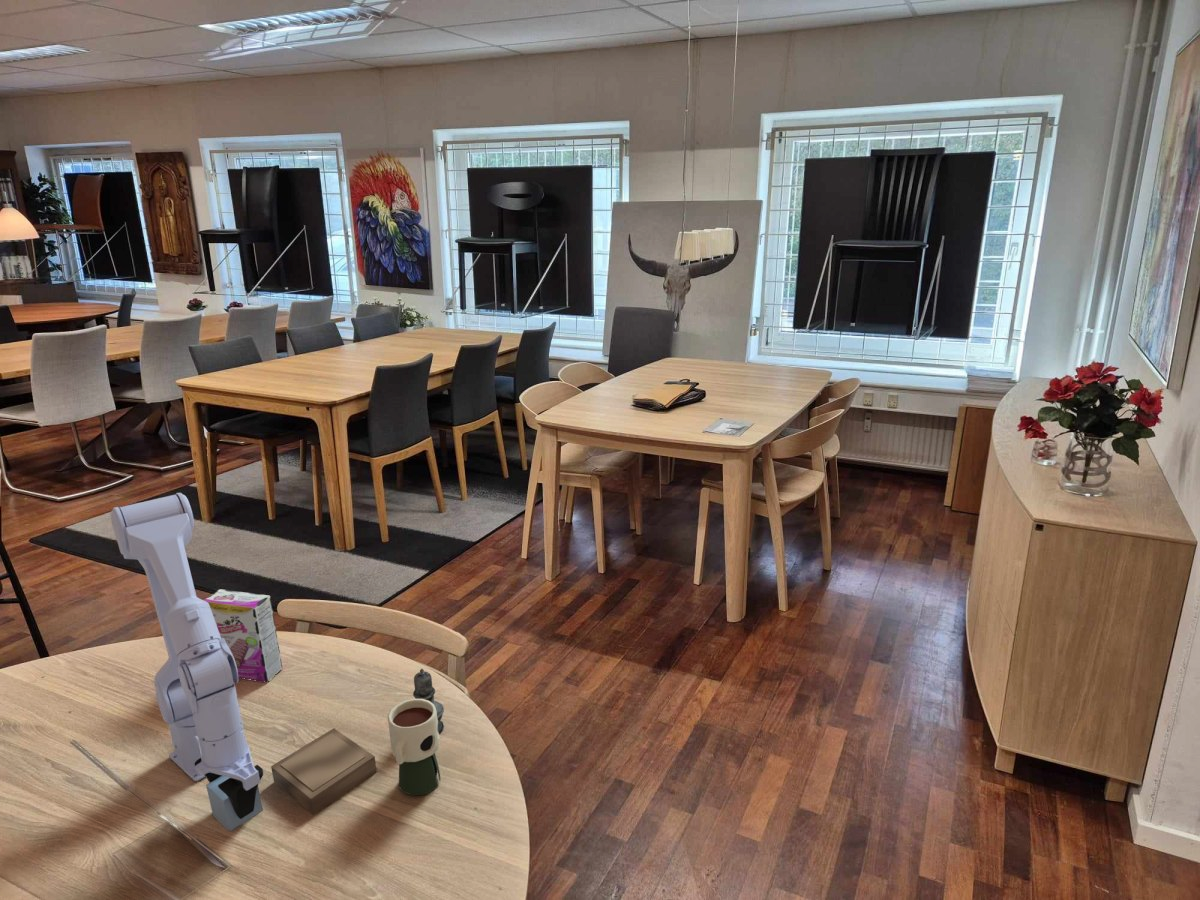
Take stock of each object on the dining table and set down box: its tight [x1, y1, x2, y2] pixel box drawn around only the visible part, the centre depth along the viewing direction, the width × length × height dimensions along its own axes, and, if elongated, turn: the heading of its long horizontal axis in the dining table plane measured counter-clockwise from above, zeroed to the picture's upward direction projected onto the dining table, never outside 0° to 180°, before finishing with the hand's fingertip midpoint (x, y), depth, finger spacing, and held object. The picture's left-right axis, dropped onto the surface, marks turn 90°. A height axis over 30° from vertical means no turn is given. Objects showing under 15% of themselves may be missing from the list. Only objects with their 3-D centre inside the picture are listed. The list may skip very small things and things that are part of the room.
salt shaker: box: [412, 668, 445, 735], centre depth 126 cm, size 6×6×12 cm
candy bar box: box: [204, 589, 283, 683], centre depth 141 cm, size 11×5×16 cm, turn 77°
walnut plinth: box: [270, 727, 378, 816], centre depth 117 cm, size 11×11×3 cm
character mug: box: [387, 698, 441, 796], centre depth 114 cm, size 11×7×13 cm, turn 168°
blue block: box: [205, 776, 264, 832], centre depth 110 cm, size 5×5×6 cm
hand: (236, 804), depth 110 cm, fingers closed on blue block, 5 cm apart
